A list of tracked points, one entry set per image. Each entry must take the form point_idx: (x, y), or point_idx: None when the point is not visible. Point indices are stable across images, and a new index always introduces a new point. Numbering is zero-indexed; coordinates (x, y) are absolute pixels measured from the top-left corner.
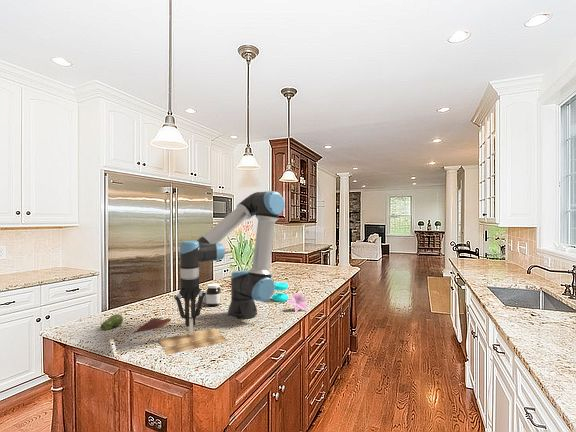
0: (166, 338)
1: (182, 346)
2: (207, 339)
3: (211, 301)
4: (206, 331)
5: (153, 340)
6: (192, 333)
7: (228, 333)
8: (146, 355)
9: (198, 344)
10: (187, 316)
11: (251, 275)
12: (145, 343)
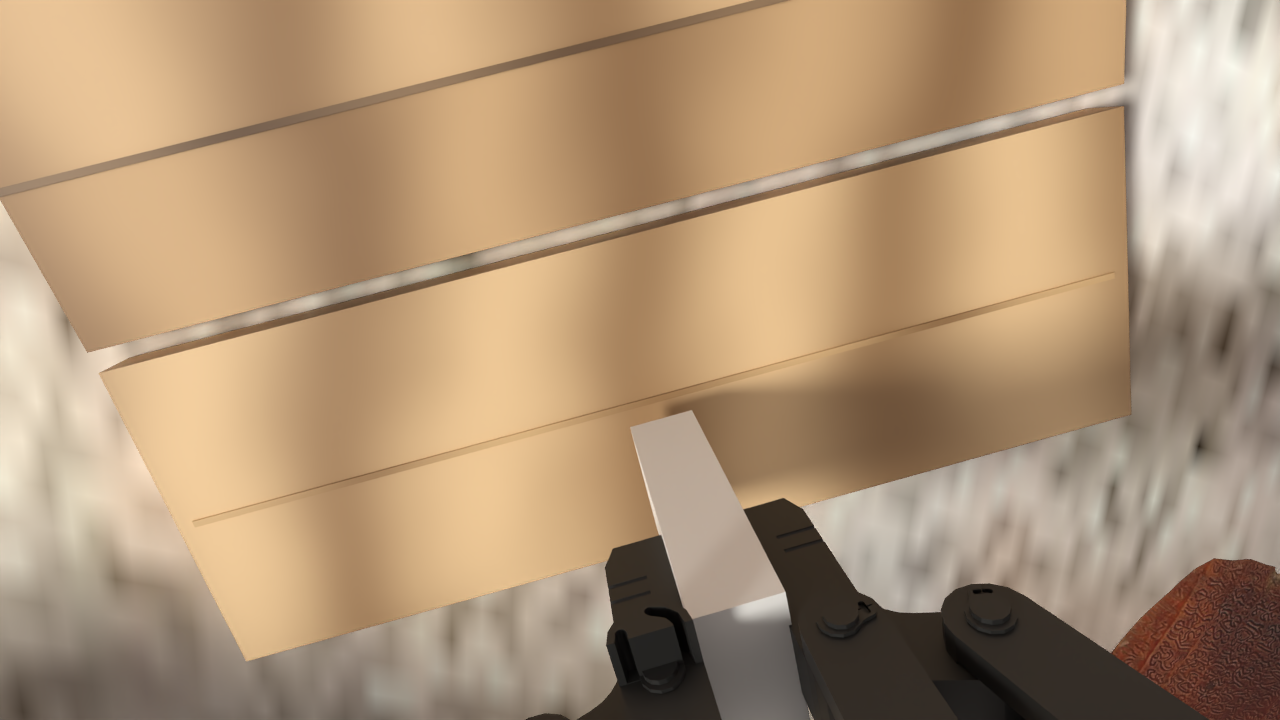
0: (1021, 420)
1: (832, 30)
2: (374, 226)
3: None
4: (394, 554)
5: (1110, 510)
6: (643, 429)
7: (14, 510)
8: None
9: (547, 24)
10: (875, 646)
11: None
12: (1213, 441)
